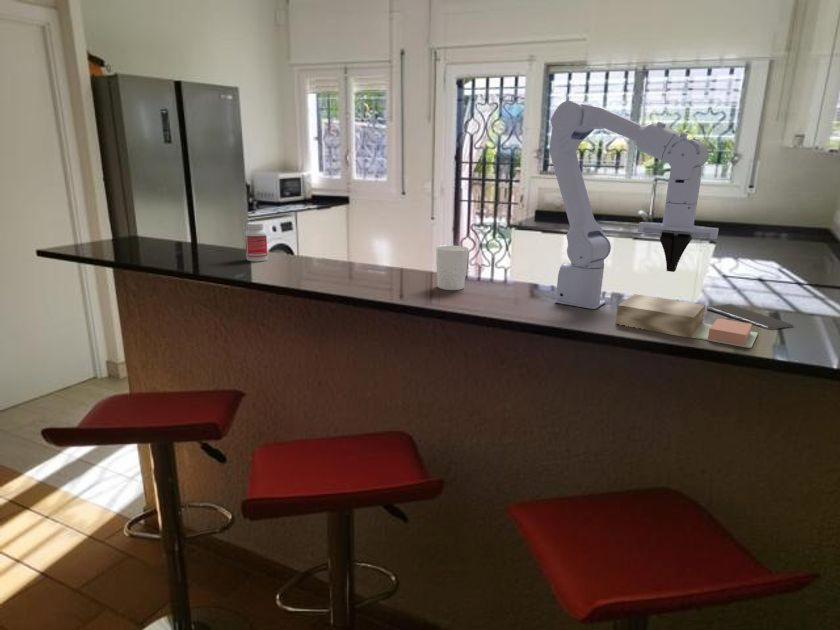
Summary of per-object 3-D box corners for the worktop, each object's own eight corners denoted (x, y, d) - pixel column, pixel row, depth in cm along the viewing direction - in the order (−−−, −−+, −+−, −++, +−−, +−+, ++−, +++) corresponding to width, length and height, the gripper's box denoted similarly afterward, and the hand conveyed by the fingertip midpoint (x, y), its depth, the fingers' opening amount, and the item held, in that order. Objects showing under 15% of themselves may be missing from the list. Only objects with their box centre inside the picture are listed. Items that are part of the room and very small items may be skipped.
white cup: (428, 287, 143) (429, 247, 140) (448, 282, 149) (450, 244, 146) (452, 292, 138) (454, 251, 135) (472, 287, 143) (474, 248, 141)
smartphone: (770, 327, 114) (705, 306, 128) (769, 333, 114) (704, 310, 128) (795, 324, 116) (730, 303, 131) (794, 329, 117) (729, 308, 131)
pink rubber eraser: (746, 334, 102) (744, 345, 103) (752, 323, 109) (750, 333, 110) (709, 328, 105) (707, 338, 106) (717, 318, 113) (716, 327, 113)
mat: (690, 337, 108) (691, 335, 108) (701, 324, 116) (702, 323, 116) (751, 348, 102) (751, 346, 102) (757, 334, 111) (758, 332, 111)
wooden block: (615, 324, 115) (617, 305, 114) (632, 312, 124) (634, 294, 123) (690, 338, 107) (693, 317, 106) (702, 323, 117) (705, 305, 116)
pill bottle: (271, 260, 172) (269, 223, 169) (253, 262, 168) (250, 225, 165) (261, 257, 176) (259, 221, 173) (242, 259, 172) (240, 222, 169)
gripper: (637, 201, 113) (629, 268, 117) (718, 206, 105) (706, 278, 109) (647, 199, 119) (638, 264, 123) (724, 204, 111) (712, 273, 115)
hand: (671, 270), depth 116 cm, fingers closed
